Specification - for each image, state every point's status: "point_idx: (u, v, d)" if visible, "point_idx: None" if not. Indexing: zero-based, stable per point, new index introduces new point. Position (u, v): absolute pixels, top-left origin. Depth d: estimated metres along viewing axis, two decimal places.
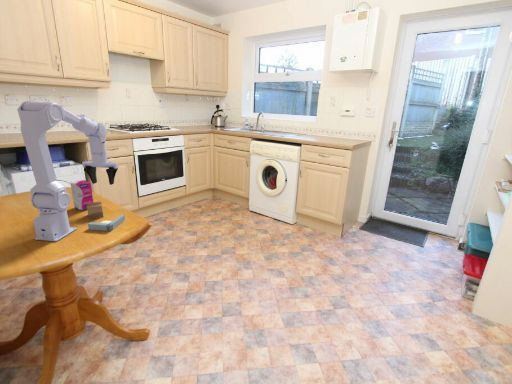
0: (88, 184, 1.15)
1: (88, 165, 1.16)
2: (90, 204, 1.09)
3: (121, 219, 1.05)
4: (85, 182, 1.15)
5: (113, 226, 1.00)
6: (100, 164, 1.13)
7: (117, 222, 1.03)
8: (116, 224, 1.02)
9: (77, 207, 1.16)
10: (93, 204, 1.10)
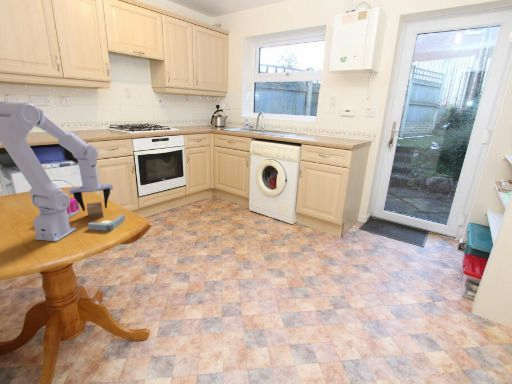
0: None
1: (76, 192, 1.05)
2: (90, 204, 1.09)
3: (121, 219, 1.05)
4: None
5: (113, 226, 1.00)
6: (96, 188, 1.06)
7: (117, 222, 1.03)
8: (116, 224, 1.02)
9: None
10: (93, 204, 1.10)
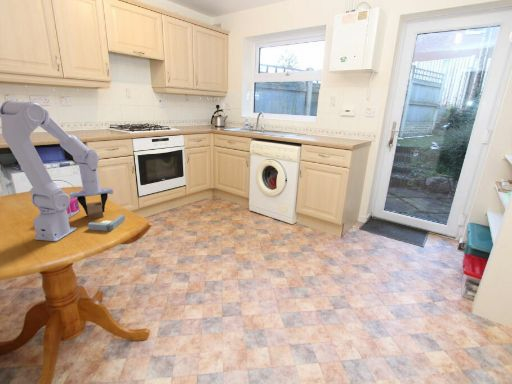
0: None
1: (77, 196, 1.05)
2: (90, 204, 1.09)
3: (121, 219, 1.05)
4: None
5: (113, 226, 1.00)
6: (97, 192, 1.06)
7: (117, 222, 1.03)
8: (116, 224, 1.02)
9: None
10: (93, 203, 1.10)
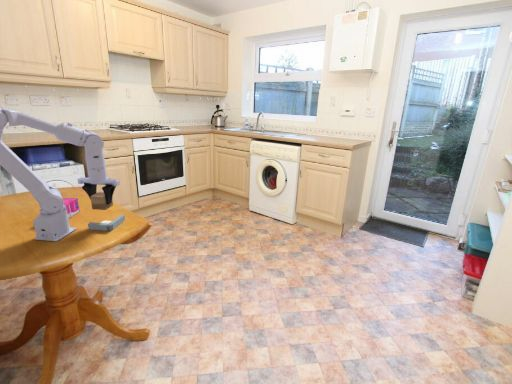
0: None
1: (84, 182, 0.99)
2: (98, 194, 1.01)
3: (121, 219, 1.05)
4: None
5: (113, 226, 1.00)
6: (98, 181, 0.96)
7: (117, 222, 1.03)
8: (116, 224, 1.02)
9: None
10: (101, 193, 1.02)
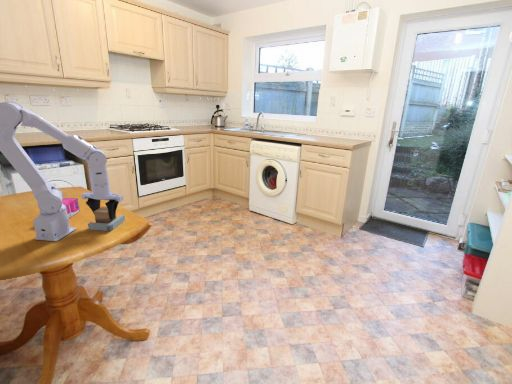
0: None
1: (88, 197, 1.00)
2: (102, 208, 1.02)
3: (121, 219, 1.05)
4: None
5: (113, 226, 1.00)
6: (102, 197, 0.97)
7: (117, 222, 1.03)
8: (116, 224, 1.02)
9: None
10: (105, 208, 1.02)
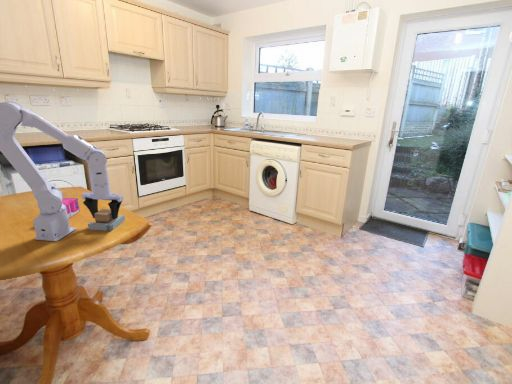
0: None
1: (88, 197, 1.00)
2: (102, 211, 1.03)
3: (121, 219, 1.05)
4: None
5: (113, 226, 1.00)
6: (102, 197, 0.97)
7: (117, 222, 1.03)
8: (116, 224, 1.02)
9: None
10: (105, 211, 1.03)
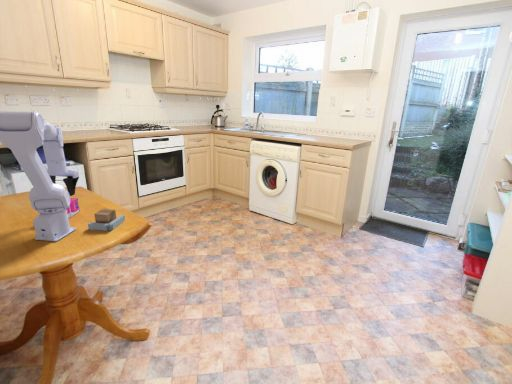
0: None
1: None
2: (102, 211, 1.03)
3: (121, 219, 1.05)
4: None
5: (113, 226, 1.00)
6: (56, 173, 0.99)
7: (117, 222, 1.03)
8: (116, 224, 1.02)
9: None
10: (105, 211, 1.03)
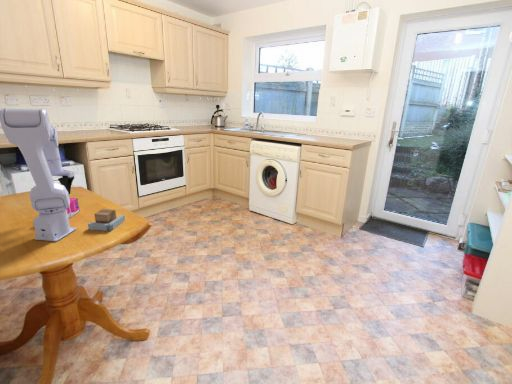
0: None
1: None
2: (102, 211, 1.03)
3: (121, 219, 1.05)
4: None
5: (113, 226, 1.00)
6: (52, 172, 0.99)
7: (117, 222, 1.03)
8: (116, 224, 1.02)
9: None
10: (105, 211, 1.03)
